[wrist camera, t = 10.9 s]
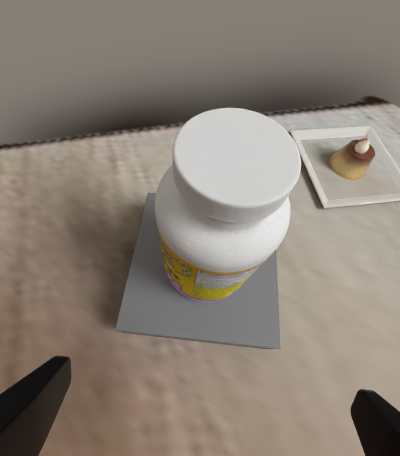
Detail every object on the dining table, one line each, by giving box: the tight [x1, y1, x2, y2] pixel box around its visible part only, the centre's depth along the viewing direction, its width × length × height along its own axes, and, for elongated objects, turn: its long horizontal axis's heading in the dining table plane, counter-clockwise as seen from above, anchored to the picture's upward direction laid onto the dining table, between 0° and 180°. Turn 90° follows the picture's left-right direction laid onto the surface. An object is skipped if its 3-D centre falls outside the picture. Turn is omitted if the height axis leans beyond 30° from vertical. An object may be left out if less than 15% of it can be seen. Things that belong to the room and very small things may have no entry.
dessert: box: [290, 125, 400, 208], centre depth 29 cm, size 12×12×5 cm
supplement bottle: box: [155, 108, 301, 302], centre depth 14 cm, size 7×7×13 cm
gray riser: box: [115, 193, 280, 349], centre depth 22 cm, size 12×12×3 cm
